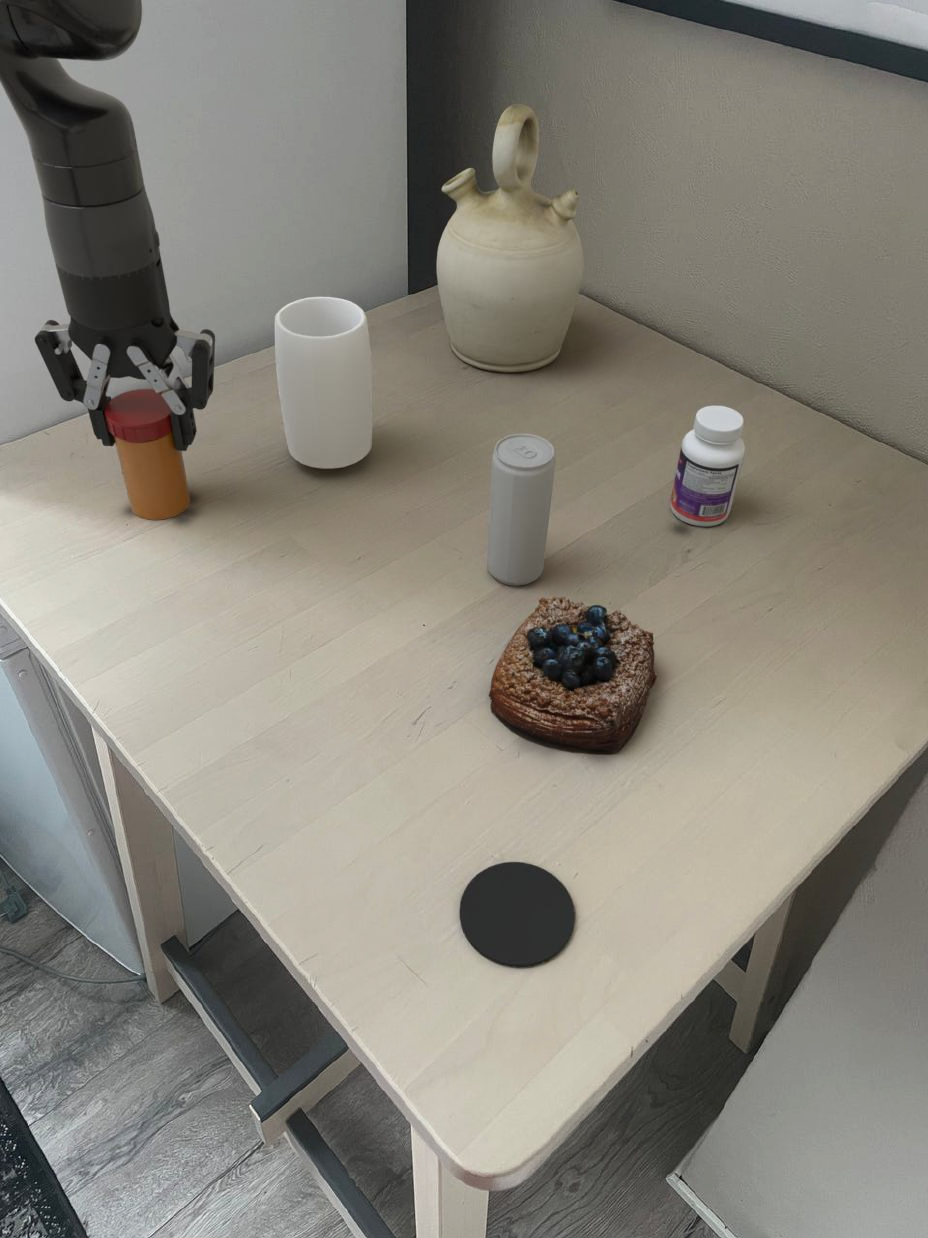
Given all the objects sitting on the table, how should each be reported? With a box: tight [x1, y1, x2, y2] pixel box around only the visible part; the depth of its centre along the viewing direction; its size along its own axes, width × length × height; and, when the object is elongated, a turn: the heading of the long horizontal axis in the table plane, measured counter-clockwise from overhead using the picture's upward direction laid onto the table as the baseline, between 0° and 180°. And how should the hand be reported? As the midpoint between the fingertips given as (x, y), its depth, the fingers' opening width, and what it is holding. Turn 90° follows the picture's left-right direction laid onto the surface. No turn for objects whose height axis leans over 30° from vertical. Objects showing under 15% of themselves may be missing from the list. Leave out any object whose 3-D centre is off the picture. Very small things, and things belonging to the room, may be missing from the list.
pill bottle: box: [669, 405, 746, 528], centre depth 90 cm, size 5×5×10 cm
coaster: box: [459, 861, 576, 969], centre depth 62 cm, size 7×7×1 cm
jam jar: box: [113, 431, 191, 521], centre depth 88 cm, size 5×5×9 cm
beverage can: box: [486, 433, 556, 587], centre depth 82 cm, size 5×5×12 cm
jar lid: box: [105, 388, 173, 442], centre depth 85 cm, size 6×6×2 cm
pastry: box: [488, 596, 658, 755], centre depth 74 cm, size 11×12×6 cm
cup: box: [274, 296, 373, 469], centre depth 93 cm, size 8×8×14 cm
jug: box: [436, 103, 585, 374], centre depth 105 cm, size 15×16×25 cm
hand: (148, 442), depth 87 cm, fingers closed on jar lid, 5 cm apart
